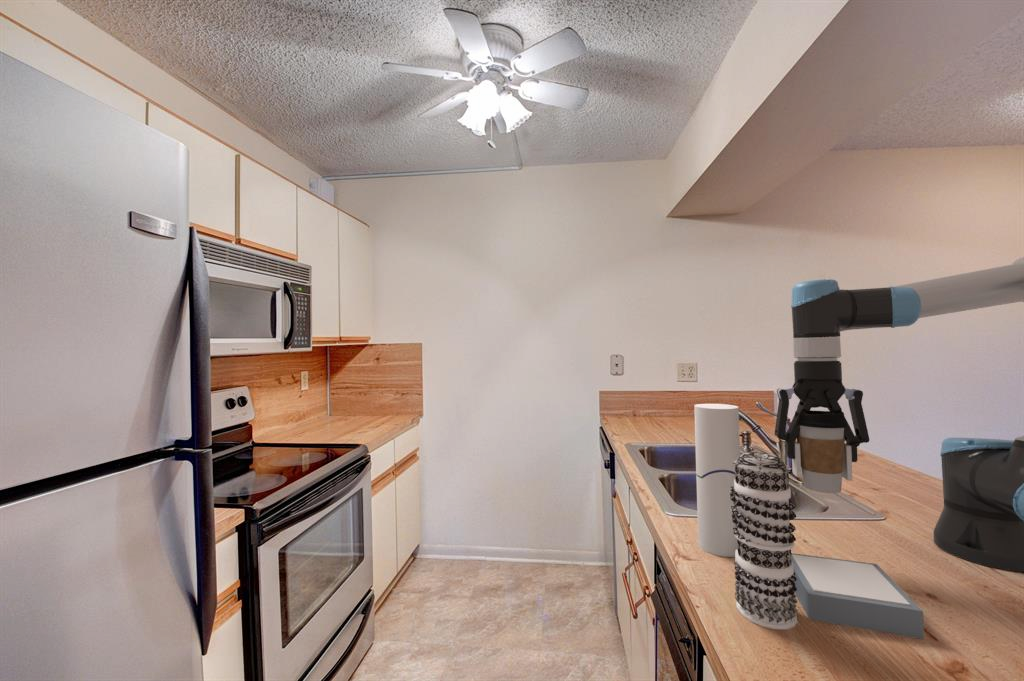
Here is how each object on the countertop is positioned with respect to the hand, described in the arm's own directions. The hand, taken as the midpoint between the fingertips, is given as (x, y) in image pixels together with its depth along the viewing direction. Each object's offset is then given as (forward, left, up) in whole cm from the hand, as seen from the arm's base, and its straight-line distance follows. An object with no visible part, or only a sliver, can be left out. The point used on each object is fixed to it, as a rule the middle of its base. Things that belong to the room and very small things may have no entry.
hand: (821, 476), depth 81 cm
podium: (+1, +13, -17) cm, 21 cm away
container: (+18, -2, -17) cm, 25 cm away
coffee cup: (0, 0, -2) cm, 2 cm away
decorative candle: (+14, +20, -17) cm, 30 cm away
